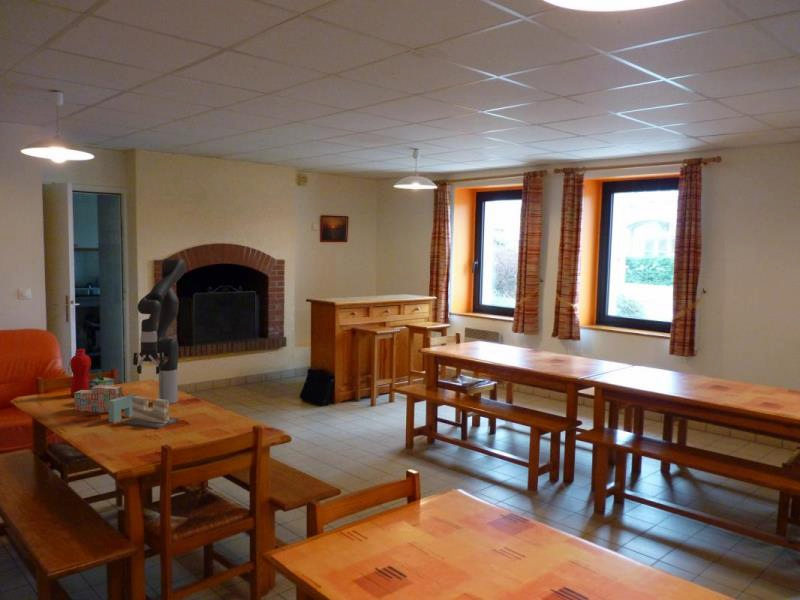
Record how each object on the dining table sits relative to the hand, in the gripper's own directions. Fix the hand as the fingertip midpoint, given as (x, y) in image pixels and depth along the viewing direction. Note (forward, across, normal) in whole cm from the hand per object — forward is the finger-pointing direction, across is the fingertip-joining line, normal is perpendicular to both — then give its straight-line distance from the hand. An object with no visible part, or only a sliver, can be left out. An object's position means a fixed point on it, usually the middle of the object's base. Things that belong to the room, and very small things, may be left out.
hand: (148, 373), depth 302 cm
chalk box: (+18, +31, -19) cm, 40 cm away
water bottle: (+17, +48, -30) cm, 59 cm away
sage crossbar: (+19, +7, +12) cm, 24 cm away
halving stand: (+20, -8, +18) cm, 28 cm away
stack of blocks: (+19, +25, -1) cm, 31 cm away
